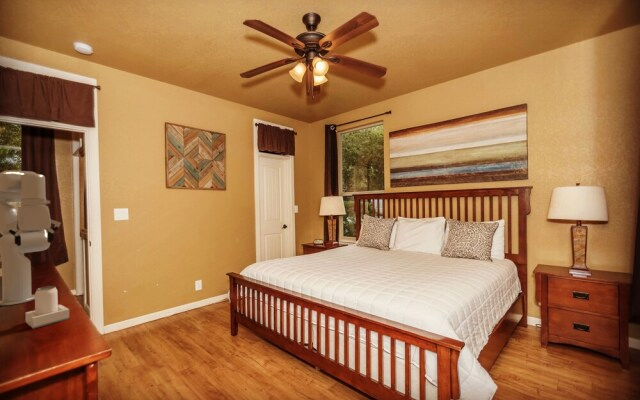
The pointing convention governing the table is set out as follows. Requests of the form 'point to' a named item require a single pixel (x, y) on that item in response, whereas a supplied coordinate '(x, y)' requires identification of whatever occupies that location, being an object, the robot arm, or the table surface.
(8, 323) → the table surface
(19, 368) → the table surface
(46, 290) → the can
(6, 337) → the table surface
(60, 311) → the dock socket
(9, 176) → the robot arm
